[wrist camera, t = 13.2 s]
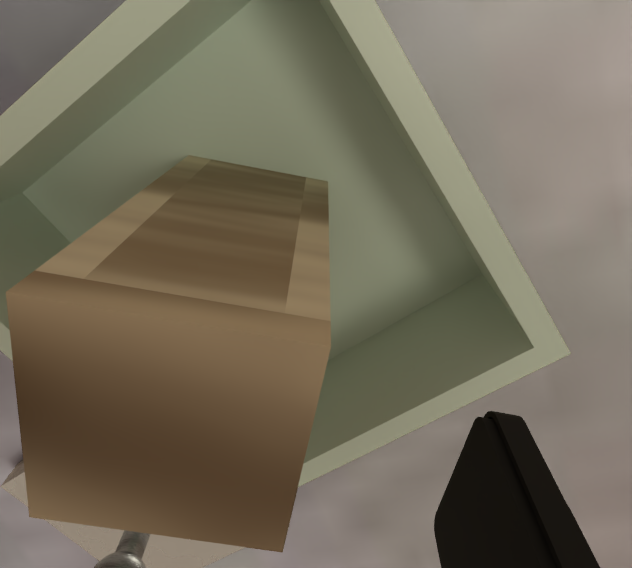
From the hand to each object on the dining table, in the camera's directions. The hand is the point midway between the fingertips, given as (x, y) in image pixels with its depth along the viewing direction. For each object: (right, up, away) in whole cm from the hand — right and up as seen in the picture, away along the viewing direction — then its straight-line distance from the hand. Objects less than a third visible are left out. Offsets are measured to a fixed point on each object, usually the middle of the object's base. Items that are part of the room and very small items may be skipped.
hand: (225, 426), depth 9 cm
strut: (-1, +5, +9) cm, 10 cm away
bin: (0, +5, +10) cm, 11 cm away
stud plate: (-7, -8, +16) cm, 19 cm away
